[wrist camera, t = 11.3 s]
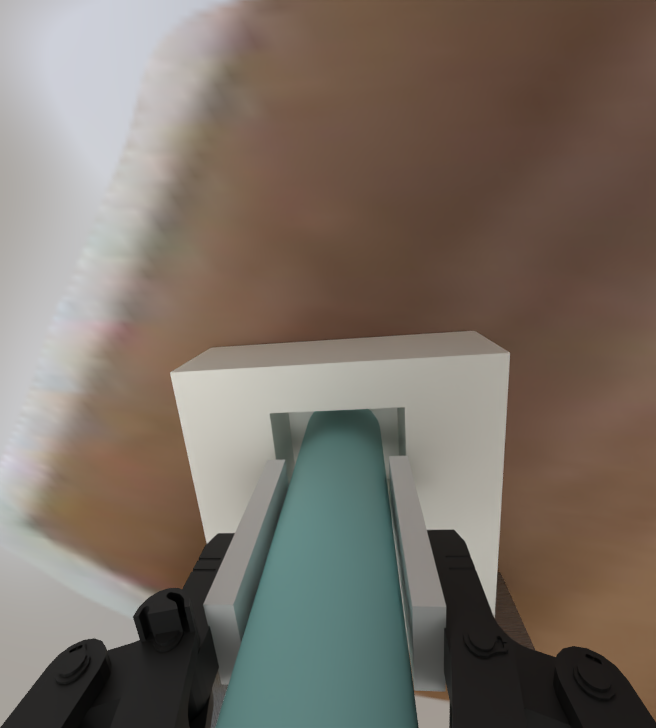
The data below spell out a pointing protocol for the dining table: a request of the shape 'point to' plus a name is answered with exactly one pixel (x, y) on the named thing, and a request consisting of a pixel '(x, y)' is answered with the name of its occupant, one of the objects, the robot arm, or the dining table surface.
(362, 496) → the peg
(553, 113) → the dining table surface
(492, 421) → the socket block
